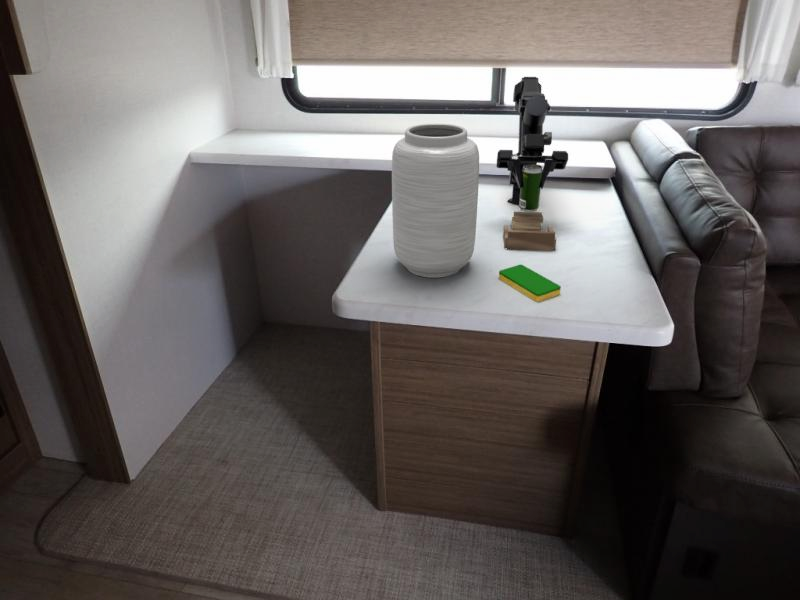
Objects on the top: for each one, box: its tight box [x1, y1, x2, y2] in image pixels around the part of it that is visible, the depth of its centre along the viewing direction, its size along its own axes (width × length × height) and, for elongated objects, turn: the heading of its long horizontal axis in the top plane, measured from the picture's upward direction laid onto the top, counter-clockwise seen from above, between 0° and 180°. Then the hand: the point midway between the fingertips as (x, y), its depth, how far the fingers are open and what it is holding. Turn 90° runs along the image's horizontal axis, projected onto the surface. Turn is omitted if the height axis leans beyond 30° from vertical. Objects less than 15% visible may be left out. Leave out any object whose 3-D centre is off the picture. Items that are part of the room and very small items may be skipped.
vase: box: [391, 123, 480, 279], centre depth 137 cm, size 20×20×34 cm
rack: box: [502, 224, 557, 252], centre depth 155 cm, size 10×13×5 cm
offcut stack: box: [510, 211, 544, 231], centre depth 163 cm, size 5×8×4 cm, turn 83°
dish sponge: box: [498, 264, 562, 303], centre depth 134 cm, size 7×14×2 cm, turn 30°
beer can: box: [518, 163, 543, 212], centre depth 157 cm, size 5×5×12 cm
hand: (531, 187), depth 155 cm, fingers closed on beer can, 5 cm apart
